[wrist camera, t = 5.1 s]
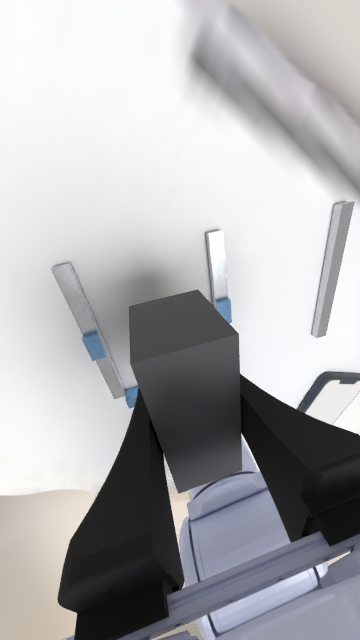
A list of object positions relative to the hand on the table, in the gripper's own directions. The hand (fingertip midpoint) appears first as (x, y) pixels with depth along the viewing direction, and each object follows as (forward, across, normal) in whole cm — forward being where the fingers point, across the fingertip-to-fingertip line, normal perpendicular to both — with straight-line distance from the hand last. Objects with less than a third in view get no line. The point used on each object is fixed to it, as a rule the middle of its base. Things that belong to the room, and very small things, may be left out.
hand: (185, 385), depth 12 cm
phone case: (+9, -21, +23) cm, 32 cm away
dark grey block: (+2, 0, 0) cm, 2 cm away
